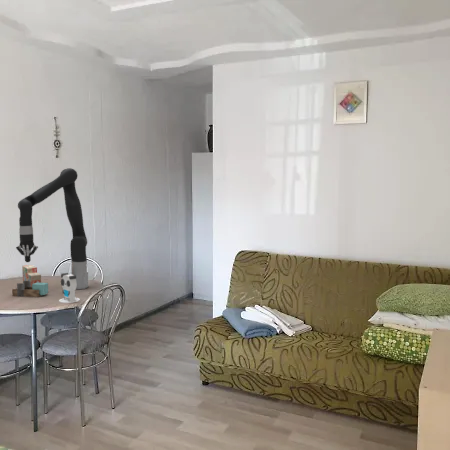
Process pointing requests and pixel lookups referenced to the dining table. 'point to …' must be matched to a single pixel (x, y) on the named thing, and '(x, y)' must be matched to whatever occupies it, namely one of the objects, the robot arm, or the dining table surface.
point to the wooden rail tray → (25, 290)
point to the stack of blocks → (31, 274)
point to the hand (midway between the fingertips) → (27, 262)
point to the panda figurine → (68, 288)
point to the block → (40, 288)
